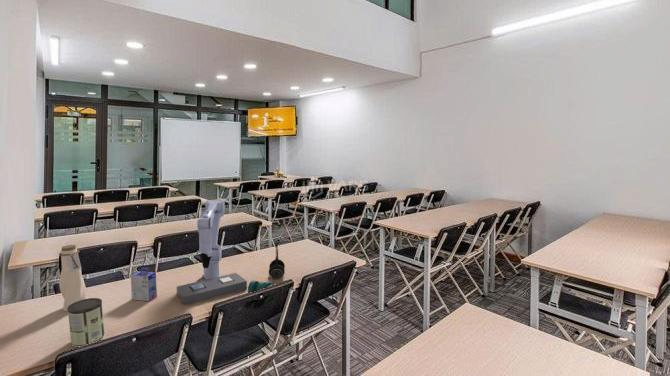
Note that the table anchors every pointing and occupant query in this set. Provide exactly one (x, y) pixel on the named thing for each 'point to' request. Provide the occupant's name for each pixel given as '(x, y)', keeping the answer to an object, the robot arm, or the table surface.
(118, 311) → the table surface
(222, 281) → the white key
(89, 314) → the coffee can
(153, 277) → the ink cartridge box
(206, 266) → the robot arm
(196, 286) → the slate blue key
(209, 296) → the key panel
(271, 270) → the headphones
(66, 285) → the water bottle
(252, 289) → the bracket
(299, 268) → the table surface
